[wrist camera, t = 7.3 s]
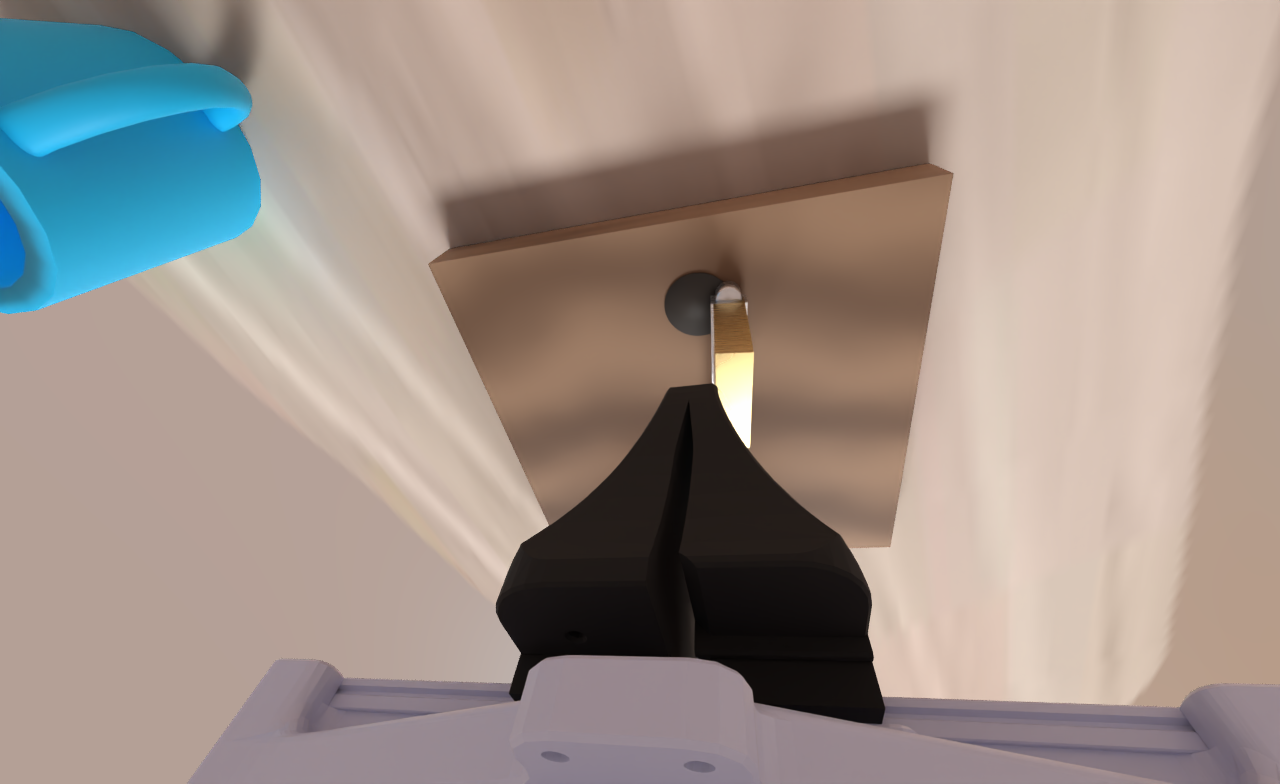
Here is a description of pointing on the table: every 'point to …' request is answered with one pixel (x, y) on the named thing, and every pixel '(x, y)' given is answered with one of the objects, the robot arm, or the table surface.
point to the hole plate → (681, 335)
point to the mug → (112, 159)
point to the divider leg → (732, 355)
